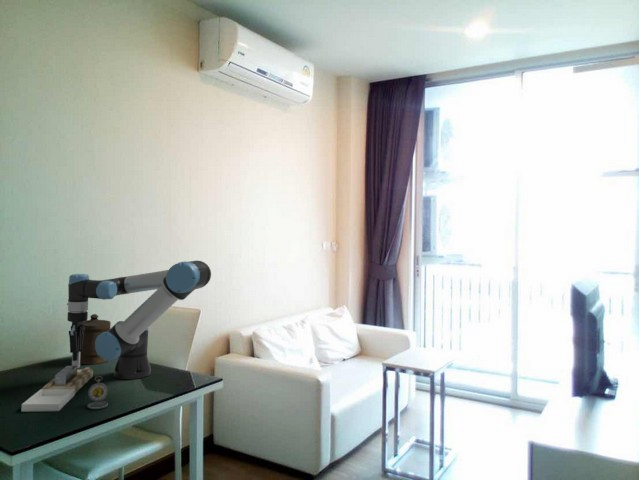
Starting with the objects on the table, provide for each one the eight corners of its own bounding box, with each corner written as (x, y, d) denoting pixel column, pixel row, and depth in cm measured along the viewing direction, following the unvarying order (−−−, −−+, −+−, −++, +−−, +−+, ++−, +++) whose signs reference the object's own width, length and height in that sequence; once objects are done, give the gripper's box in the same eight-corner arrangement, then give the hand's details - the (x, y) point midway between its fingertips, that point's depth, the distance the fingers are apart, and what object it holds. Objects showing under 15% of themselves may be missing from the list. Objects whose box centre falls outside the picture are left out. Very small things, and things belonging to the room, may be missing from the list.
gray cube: (66, 375, 199) (67, 365, 199) (77, 375, 199) (77, 365, 199) (63, 378, 195) (63, 368, 195) (73, 378, 195) (74, 368, 195)
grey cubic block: (58, 382, 190) (58, 372, 190) (69, 382, 190) (69, 372, 190) (54, 385, 186) (54, 375, 186) (65, 385, 187) (66, 375, 186)
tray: (40, 395, 183) (40, 389, 183) (74, 395, 185) (74, 388, 185) (21, 411, 167) (21, 404, 167) (58, 411, 169) (59, 403, 169)
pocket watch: (94, 411, 170) (95, 383, 170) (80, 406, 174) (81, 378, 174) (115, 405, 177) (116, 377, 177) (101, 400, 181) (102, 373, 181)
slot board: (65, 376, 207) (65, 366, 207) (92, 376, 209) (93, 366, 209) (42, 395, 183) (42, 384, 183) (73, 395, 185) (73, 384, 185)
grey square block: (62, 378, 194) (63, 369, 194) (73, 378, 195) (73, 368, 195) (58, 382, 190) (59, 371, 190) (69, 382, 191) (70, 371, 191)
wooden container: (114, 356, 240) (115, 312, 240) (101, 365, 226) (103, 317, 225) (84, 355, 240) (85, 311, 240) (69, 364, 225) (70, 316, 225)
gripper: (73, 308, 209) (71, 363, 210) (62, 313, 196) (60, 372, 197) (92, 308, 210) (90, 363, 211) (82, 314, 197) (80, 372, 198)
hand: (75, 367), depth 204 cm, fingers closed
